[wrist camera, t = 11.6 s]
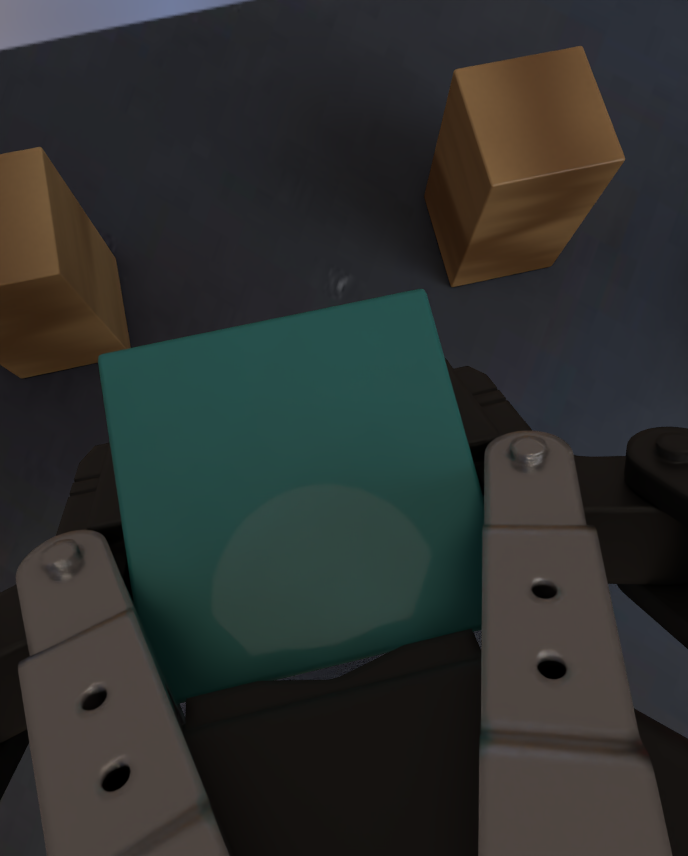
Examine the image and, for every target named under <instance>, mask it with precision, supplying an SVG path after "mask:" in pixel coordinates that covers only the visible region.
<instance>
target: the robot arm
mask: <svg viewBox="0 0 688 856" xmlns="http://www.w3.org/2000/svg"><path fill="white" fill-rule="evenodd" d="M444 358H445V357H444ZM445 362H446V365H447V369H448V372H449V376H450V379H451V383H452V387H453V390H454V394H455V397H456V401H457V404H458V408H459V412H460V415H461V419H462V422H463V426H464V429H465V433H466V437H467V440H468V444H469V447H470V451H471V454H472V458H473V462H474V465H475V469H476V472H477V476H478V479H479V483H480V487H481V490H482V494H483V497H484V524H483V530H482V650H481V649H480V647H479V644H478V642H477V640H476V638H475V635H474V633H473V631H472V629H468V630H463V631H459V632H455V633H451V634H447V635H443V636H439V637H435V638H431V639H427V640H423V641H419V642H415V643H410V644H406V645H403V646H401V647H399V648H397V649H395V650H393V651H391V652H389V653H387V654H385V655H383V656H381V657H379V658H377V659H375V660H373V661H371V662H369V663H367V664H365V665H363V666H360V667H358V668H356V669H354V670H352V671H350V672H348V673H346V674H344V675H342V676H340V677H338V678H334V679H329V680H281V681H255V682H251V683H247V684H243V685H239V686H235V687H231V688H227V689H223V690H219V691H215V692H211V693H207V694H202V695H198V696H194V697H190V698H186V716H184V713H183V711H182V708H181V706H180V704H177V702H176V699H175V697H174V695H173V693H172V691H171V689H170V686H169V684H168V682H167V680H166V678H165V676H164V674H163V671H162V669H161V667H160V665H159V663H158V661H157V658H156V656H155V654H154V652H153V649H152V647H151V645H150V642H149V640H148V638H147V635H146V633H145V630H144V628H143V626H142V623H141V621H140V618H139V616H138V613H137V611H136V608H135V606H134V603H133V597H132V590H131V583H130V577H129V570H128V563H127V556H126V549H125V543H124V536H123V529H122V522H121V515H120V509H119V502H118V495H117V488H116V481H115V475H114V468H113V461H112V454H111V447H110V441H109V443H106V444H102V445H97V446H94V448H93V449H92V450H91V451H90V452H89V453H88V454H87V455H86V456H85V457H84V459H83V460H82V461H81V462H80V463H79V466H78V469H77V472H76V475H75V478H74V481H75V483H73V485H72V488H71V491H70V497H68V500H67V503H66V506H65V509H64V512H63V515H62V519H61V522H60V525H59V528H58V531H57V534H56V536H55V537H53V538H51V539H49V540H47V541H46V542H44V543H42V544H41V545H39V546H38V547H37V548H35V549H34V550H33V551H32V552H30V553H29V554H28V555H27V556H26V558H25V559H24V560H23V561H22V563H21V564H20V566H19V568H18V570H17V573H16V585H15V586H13V587H11V588H9V589H7V590H5V591H3V592H1V593H0V800H1V798H2V796H3V794H4V792H5V790H6V788H7V786H8V784H9V782H10V780H11V778H12V776H13V774H14V772H15V770H16V768H17V766H18V764H19V762H20V760H21V758H22V756H23V754H24V752H25V750H26V748H27V746H28V744H29V743H30V749H31V756H32V762H33V768H34V775H35V781H36V787H37V794H38V800H39V806H40V813H41V819H42V825H43V832H44V838H45V845H46V851H47V856H688V739H687V738H686V737H684V736H682V735H680V734H678V733H677V732H675V731H673V730H671V729H670V728H668V727H666V726H664V725H663V724H661V723H659V722H657V721H655V720H654V719H652V718H650V717H648V716H647V715H645V714H643V713H641V712H639V711H638V710H636V709H634V708H633V703H632V699H631V694H630V689H629V684H628V679H627V674H626V670H625V665H624V660H623V655H622V650H621V645H620V641H619V636H618V631H617V626H616V621H615V616H614V612H613V607H612V602H611V597H610V592H609V587H608V584H617V585H618V587H619V588H620V590H621V591H622V592H623V593H624V594H625V595H627V596H628V597H629V598H630V599H631V600H632V601H633V602H635V603H636V604H637V605H638V606H639V607H640V608H641V609H643V610H644V611H645V612H646V613H647V614H648V615H649V616H651V617H652V618H653V619H654V620H655V621H656V622H658V623H659V624H660V625H661V626H662V627H663V628H664V629H666V630H667V631H668V632H669V633H670V634H671V635H672V636H674V637H675V638H676V639H677V640H678V641H679V642H680V643H682V644H683V645H684V646H685V647H686V648H687V649H688V429H686V428H679V427H656V428H651V429H647V430H644V431H641V432H639V433H637V434H635V435H634V436H633V437H631V439H630V440H629V441H628V444H627V450H626V456H609V457H585V456H576V455H573V452H572V449H571V448H570V446H569V445H568V444H567V443H566V442H565V441H564V440H562V439H561V438H559V437H557V436H554V435H552V434H549V433H545V432H540V431H532V429H531V428H530V427H529V426H528V425H527V423H526V422H525V421H524V420H523V419H522V417H521V416H520V415H519V414H518V412H517V411H516V410H515V409H514V408H513V406H512V405H511V404H510V403H509V402H508V401H506V398H505V397H504V395H503V394H502V393H501V392H500V391H499V390H497V387H496V386H495V384H494V383H493V382H492V381H491V380H490V378H489V377H488V376H487V375H486V374H484V373H482V372H480V371H477V370H475V369H473V368H471V367H469V366H465V367H460V368H455V369H453V368H452V366H451V365H450V364H449V362H448V361H447V360H446V358H445Z"/></svg>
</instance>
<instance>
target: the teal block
mask: <svg viewBox="0 0 688 856" xmlns="http://www.w3.org/2000/svg"><path fill="white" fill-rule="evenodd" d="M98 366H99V373H100V379H101V386H102V393H103V400H104V407H105V413H106V420H107V427H108V434H109V441H110V447H111V454H112V461H113V468H114V475H115V481H116V488H117V495H118V502H119V509H120V515H121V522H122V529H123V536H124V543H125V549H126V556H127V563H128V570H129V577H130V583H131V590H132V597H133V603H134V606H135V608H136V611H137V613H138V616H139V618H140V621H141V623H142V626H143V628H144V630H145V633H146V635H147V638H148V640H149V642H150V645H151V647H152V649H153V652H154V654H155V656H156V658H157V661H158V663H159V665H160V667H161V669H162V671H163V674H164V676H165V678H166V680H167V682H168V684H169V686H170V689H171V691H172V693H173V695H174V697H175V699H176V702H177V704H179V703H183V702H186V698H190V697H194V696H198V695H202V694H207V693H211V692H215V691H219V690H223V689H227V688H231V687H235V686H239V685H243V684H247V683H251V682H255V681H274V680H278V679H282V678H286V677H290V676H294V675H298V674H302V673H306V672H310V671H315V670H319V669H323V668H327V667H331V666H335V665H339V664H343V663H347V662H351V661H356V660H360V659H364V658H368V657H372V656H376V655H380V654H384V653H388V652H391V651H393V650H395V649H397V648H399V647H401V646H403V645H406V644H410V643H415V642H419V641H423V640H427V639H431V638H435V637H439V636H443V635H447V634H451V633H455V632H459V631H463V630H468V629H472V631H473V632H474V631H479V630H482V530H483V524H484V497H483V494H482V490H481V487H480V483H479V479H478V476H477V472H476V469H475V465H474V462H473V458H472V454H471V451H470V447H469V444H468V440H467V437H466V433H465V429H464V426H463V422H462V419H461V415H460V412H459V408H458V404H457V401H456V397H455V394H454V390H453V387H452V383H451V379H450V376H449V372H448V369H447V365H446V362H445V358H444V354H443V351H442V347H441V344H440V340H439V337H438V333H437V329H436V326H435V322H434V319H433V315H432V312H431V308H430V304H429V301H428V297H427V294H426V292H425V291H424V289H416V290H412V291H407V292H402V293H397V294H392V295H387V296H382V297H377V298H373V299H368V300H363V301H358V302H353V303H348V304H343V305H338V306H334V307H329V308H324V309H319V310H314V311H309V312H304V313H299V314H295V315H290V316H285V317H280V318H275V319H270V320H265V321H260V322H256V323H251V324H246V325H241V326H236V327H231V328H226V329H221V330H217V331H212V332H207V333H202V334H197V335H192V336H187V337H182V338H177V339H173V340H168V341H163V342H158V343H153V344H148V345H143V346H138V347H134V348H129V349H124V350H119V351H114V352H109V353H104V354H101V355H99V357H98Z"/></svg>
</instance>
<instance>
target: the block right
mask: <svg viewBox="0 0 688 856" xmlns="http://www.w3.org/2000/svg"><path fill="white" fill-rule="evenodd" d="M624 161H625V157H624V154H623V151H622V149H621V146H620V144H619V141H618V138H617V136H616V133H615V130H614V128H613V125H612V123H611V120H610V117H609V115H608V112H607V110H606V107H605V104H604V102H603V99H602V96H601V94H600V91H599V89H598V86H597V83H596V81H595V78H594V76H593V73H592V70H591V68H590V65H589V63H588V60H587V57H586V55H585V52H584V49H583V47H582V46H578V47H572V48H567V49H562V50H556V51H551V52H546V53H540V54H535V55H530V56H524V57H519V58H514V59H508V60H503V61H497V62H492V63H487V64H481V65H476V66H471V67H465V68H460V69H456V70H454V73H453V77H452V81H451V86H450V90H449V94H448V98H447V102H446V107H445V111H444V115H443V119H442V123H441V128H440V132H439V136H438V140H437V144H436V149H435V153H434V157H433V161H432V165H431V170H430V174H429V178H428V182H427V186H426V191H425V195H424V198H425V201H426V204H427V208H428V211H429V215H430V218H431V221H432V225H433V228H434V231H435V235H436V238H437V242H438V245H439V248H440V252H441V255H442V258H443V262H444V265H445V269H446V272H447V275H448V279H449V282H450V285H451V287H456V286H460V285H465V284H470V283H475V282H479V281H484V280H489V279H494V278H498V277H503V276H508V275H512V274H517V273H522V272H527V271H531V270H536V269H541V268H546V267H550V266H552V265H553V263H554V262H555V260H556V259H557V257H558V256H559V255H560V253H561V252H562V250H563V249H564V247H565V246H566V244H567V243H568V242H569V240H570V239H571V237H572V236H573V234H574V233H575V231H576V230H577V229H578V227H579V226H580V224H581V223H582V221H583V220H584V218H585V217H586V216H587V214H588V213H589V211H590V210H591V208H592V207H593V205H594V204H595V203H596V201H597V200H598V198H599V197H600V195H601V194H602V192H603V191H604V190H605V188H606V187H607V185H608V184H609V182H610V181H611V179H612V178H613V177H614V175H615V174H616V172H617V171H618V169H619V168H620V166H621V165H622V164H623V162H624Z"/></svg>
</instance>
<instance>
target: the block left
mask: <svg viewBox="0 0 688 856" xmlns="http://www.w3.org/2000/svg"><path fill="white" fill-rule="evenodd" d="M129 348H131V346H130V340H129V334H128V329H127V323H126V317H125V311H124V305H123V299H122V293H121V287H120V281H119V275H118V269H117V263H116V258H115V257H114V255H113V254H112V252H111V251H110V249H109V248H108V246H107V245H106V243H105V242H104V240H103V239H102V237H101V236H100V234H99V233H98V231H97V230H96V228H95V227H94V225H93V224H92V222H91V221H90V219H89V218H88V216H87V215H86V213H85V212H84V210H83V209H82V207H81V206H80V204H79V203H78V201H77V200H76V198H75V197H74V195H73V194H72V192H71V191H70V189H69V188H68V186H67V185H66V183H65V182H64V180H63V179H62V177H61V176H60V174H59V173H58V171H57V170H56V168H55V167H54V165H53V164H52V162H51V161H50V159H49V158H48V156H47V155H46V153H45V152H44V150H43V149H42V148H41V147H37V148H31V149H26V150H21V151H15V152H10V153H4V154H0V365H1V366H3V367H4V368H6V369H7V370H9V371H11V372H12V373H14V374H15V375H17V376H18V377H20V378H27V377H32V376H37V375H41V374H46V373H51V372H55V371H60V370H65V369H70V368H74V367H79V366H84V365H89V364H93V363H98V357H99V355H101V354H104V353H109V352H114V351H119V350H124V349H129Z"/></svg>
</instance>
